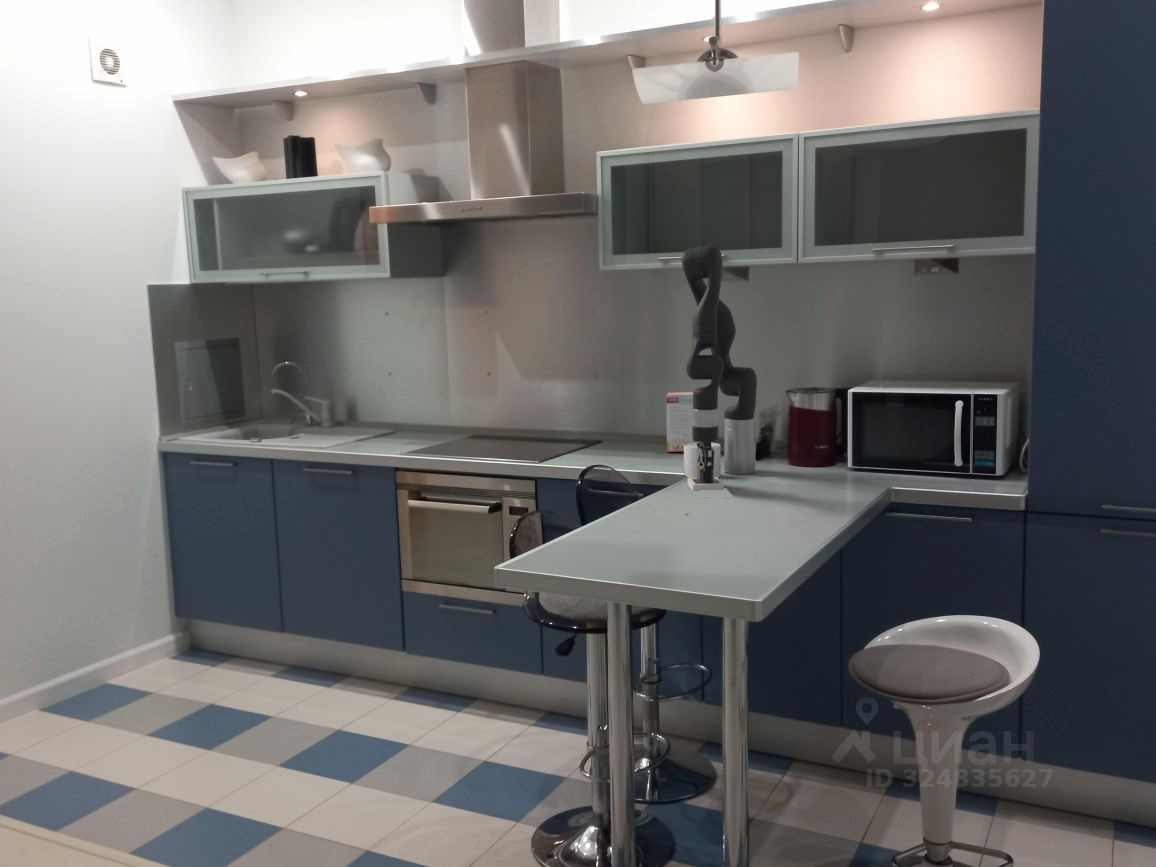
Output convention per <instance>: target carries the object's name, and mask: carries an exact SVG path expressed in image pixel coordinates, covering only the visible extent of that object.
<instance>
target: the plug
mask: <svg viewBox="0 0 1156 867" xmlns="http://www.w3.org/2000/svg"><path fill="white" fill-rule="evenodd" d="M711 483H713V470H712V482H711ZM697 484H705V483H704V470H703V466H697Z"/></svg>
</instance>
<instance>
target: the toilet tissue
mask: <svg viewBox="0 0 1156 867" xmlns="http://www.w3.org/2000/svg"><path fill="white" fill-rule="evenodd" d="M698 443H699V442H698ZM711 447H713V450H714V469H713V477H720V478H721V472H722V470H721V467H722V464H721V444H720V443H716V442H713V441H712V442H711ZM700 456H701V455H700ZM697 460H698V457H697V443H690V444H687V445H686V446H685V445H684V453H683V474H684V475H685V476H686V478H687V479H688V478H697V466H699V465H698V462H697ZM707 466H710V464H709V463H708V465H707Z"/></svg>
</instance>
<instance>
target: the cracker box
mask: <svg viewBox="0 0 1156 867" xmlns="http://www.w3.org/2000/svg"><path fill="white" fill-rule="evenodd" d="M693 392H694V391H693ZM693 392H692V391H691V392H687V391H684V392H680V391H679V392H677V391H676V392H667V394H666V396H665V397H666V448H667V450H666V452H684V445H685V446H686V445H687V444H690V443H698V442H697V441H694V440H693V439H692V414H693Z"/></svg>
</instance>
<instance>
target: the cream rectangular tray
mask: <svg viewBox="0 0 1156 867" xmlns="http://www.w3.org/2000/svg"><path fill="white" fill-rule="evenodd" d="M687 485H688V486H689V487H690V488H691V489H692V490H693V491H700V490H724V488H727V486H726V485H725V484H724V482H723V481H722V480H721V479H720V478H718V477H713V483H708V484H697V478H687Z"/></svg>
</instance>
